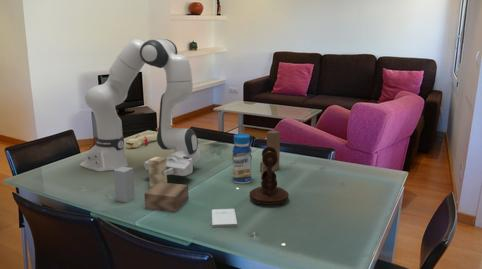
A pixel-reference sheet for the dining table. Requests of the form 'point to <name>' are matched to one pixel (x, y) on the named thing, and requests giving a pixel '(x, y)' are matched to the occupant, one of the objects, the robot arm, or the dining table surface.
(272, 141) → the wooden block
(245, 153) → the beverage bottle
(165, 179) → the maple block
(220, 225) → the external hard drive
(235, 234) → the dining table surface
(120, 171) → the grey block
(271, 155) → the dark brown tall piece
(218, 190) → the dining table surface
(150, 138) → the cat figure
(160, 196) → the walnut base block
